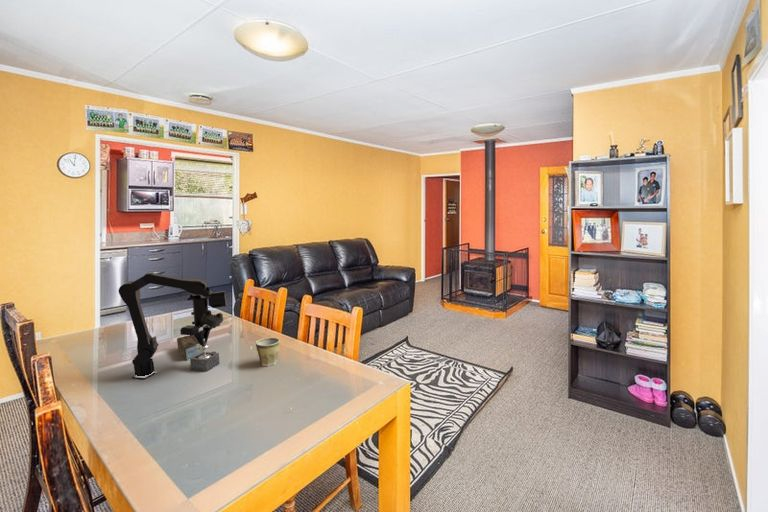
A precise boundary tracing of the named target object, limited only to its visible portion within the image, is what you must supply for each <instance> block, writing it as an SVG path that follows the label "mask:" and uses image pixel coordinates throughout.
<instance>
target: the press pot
mask: <svg viewBox="0 0 768 512" xmlns="http://www.w3.org/2000/svg"><path fill="white" fill-rule="evenodd" d="M206 354H210V355H211V356H210V357H209V358H207V359H199V358H198V357H199V356H200V355H203V352H202V353H200V354H198V355H196V356H194V357H192V358H190V360H189V362H190V370H191V371H197V370H198V372H206V371H207V372H209V371H211V370H212V369H214V368H215V366H216V367H217V366H219V365H220V364H221V363H220V354H219V352H217V351H211V352H210V351H206ZM213 367H214V368H213Z"/></svg>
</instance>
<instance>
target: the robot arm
mask: <svg viewBox="0 0 768 512" xmlns="http://www.w3.org/2000/svg"><path fill="white" fill-rule="evenodd" d="M150 284H152V285H159V286H162V287H163V286H165V287H169V288H176V289H181V290H183V291H185V292H187V293H190V295H189V296H188V297H187V298H186V300H187V301H192V312H190V315H191V316H193V321H191V322H192V323H191V324H190V325H189V324H188V325H185V326H182V327H181V328H180V335H182V336H183V335H184V336H190V335H194V336H195V338H196V339H197V340H198V342H199V343H200V345H203V343H204V338H205V341H206V344H208V339H209V336H210V332H211V331H212V330H213V329H216V328H217V327H220V326H221V323H223V321H224V317H223V313H221V312H219V313H216V314H212V311H211V309H209V306H210V307H211V308H212V309H216V308H217V309H218V308H226V307H227V297H226V290H222V291H216V292H215V291H214V292H213V291H212V289H210V288H209V287H208V283H207V282H206V281H205V280H204V279H202V278H181V277H180V278H179V277H176V276H175V277H174V276H169V275H164V274H160V273H154V272H148V273H145V274H144V275H143V276H141V277H140V278H137V279H136V280H129V281H126V282H125V283H123V284H121V285H120V287H118V294H119V296H120V298H121V300H122V301H123V302H124V304H125V305H126V306H127V309H128V312H129V315H130V318H131V321H132V325H133V328H134V333H135V335H136V338H137V341H136V342H137V345H136V350H137V354H136V356H134V358H133V359H132V360H131V363H132V365H133V371H134V375H137V376H145V375H149V374H151V373H152V372H153V371H155V365H154V364H155V363H154V359H153V357H154V355H155V353H157V350H158V346H159V343H158V341H157V335H156V336H153V337H152V335H151V334H150V332H149V328H148V325H147V322H146V318H145V315H144V312H143V308H142V305H141V289H143V288H144V287H146V286H147V285H150Z"/></svg>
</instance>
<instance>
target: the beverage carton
mask: <svg viewBox="0 0 768 512" xmlns="http://www.w3.org/2000/svg"><path fill="white" fill-rule="evenodd" d="M176 343H177V349H178V351H179V352H180V353H182V354H181V355H182V357H185V358H186V359H187V360H188V361H190V360H189V359H190V358H192V357H194V356H196V355H198V354H200V353H202V352H203V349H198V346H199V345H200V343H199V342H198V340H197V339H196V338H195V336H194V335H184V336H180V337H177V338H176ZM185 358H184V359H185ZM186 359H185V360H186ZM187 360H186V361H187Z"/></svg>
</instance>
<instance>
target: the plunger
mask: <svg viewBox="0 0 768 512" xmlns="http://www.w3.org/2000/svg"><path fill="white" fill-rule="evenodd" d="M209 348H210V343H206V341H205V338H204V343H203V345H199V346H198V349H203V355H200V356H199V357H198V358H199V359H207V358H209V357H210V356H211V355H210V354H206V352H207V350H206V349H209Z"/></svg>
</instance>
